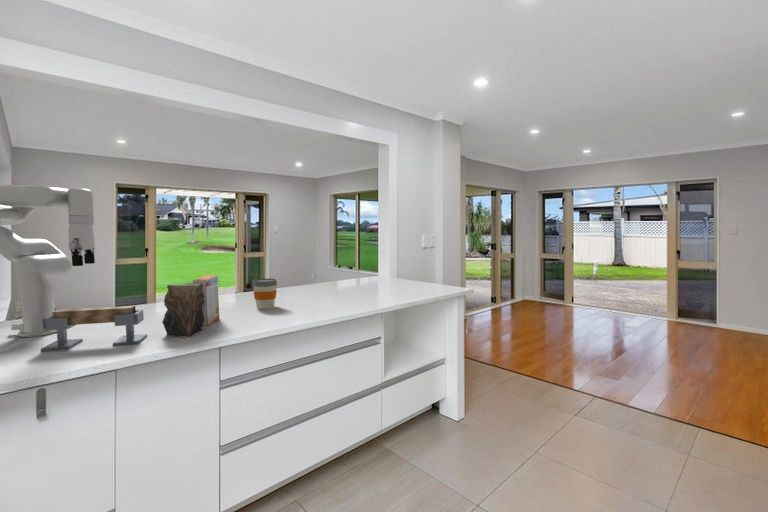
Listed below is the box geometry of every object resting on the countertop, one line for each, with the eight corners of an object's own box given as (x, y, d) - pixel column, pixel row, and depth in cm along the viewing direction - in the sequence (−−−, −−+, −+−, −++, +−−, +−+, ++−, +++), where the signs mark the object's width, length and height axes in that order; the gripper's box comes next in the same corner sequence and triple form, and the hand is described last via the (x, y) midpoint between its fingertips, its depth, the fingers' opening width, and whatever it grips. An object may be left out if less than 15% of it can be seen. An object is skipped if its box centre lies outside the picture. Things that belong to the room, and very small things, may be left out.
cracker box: (206, 319, 171) (205, 275, 170) (219, 318, 172) (218, 275, 170) (193, 327, 157) (192, 279, 156) (208, 326, 158) (206, 279, 156)
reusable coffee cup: (273, 309, 191) (272, 281, 190) (249, 309, 192) (248, 281, 190) (280, 304, 204) (279, 278, 203) (258, 304, 204) (257, 278, 203)
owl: (161, 335, 145) (159, 285, 143) (185, 327, 157) (183, 281, 155) (188, 337, 142) (186, 287, 140) (210, 329, 154) (209, 282, 153)
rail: (52, 326, 128) (52, 312, 127) (59, 323, 132) (58, 309, 131) (132, 321, 135) (131, 307, 135) (135, 318, 139) (135, 305, 139)
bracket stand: (40, 351, 125) (38, 320, 124) (56, 343, 134) (54, 313, 133) (138, 343, 134) (137, 314, 133) (146, 336, 143) (145, 308, 142)
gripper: (80, 221, 148) (82, 262, 149) (57, 220, 131) (60, 267, 132) (102, 221, 150) (104, 262, 151) (82, 220, 134) (85, 266, 135)
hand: (83, 264), depth 142 cm, fingers open, 9 cm apart
